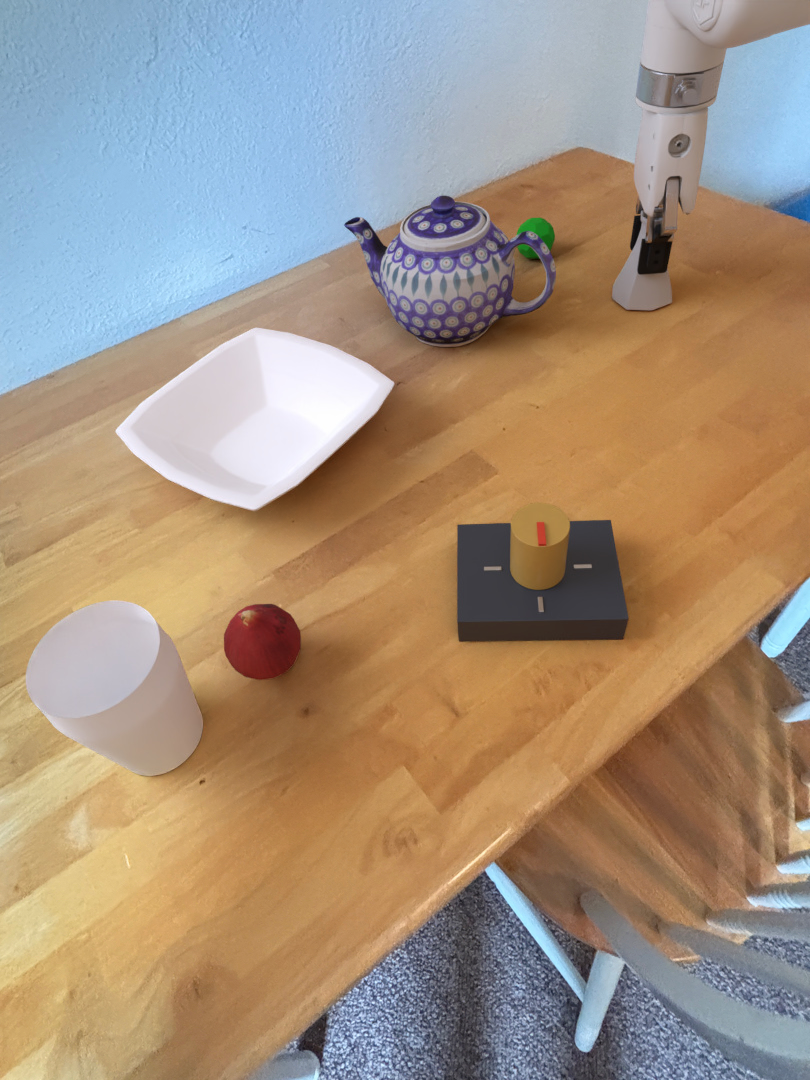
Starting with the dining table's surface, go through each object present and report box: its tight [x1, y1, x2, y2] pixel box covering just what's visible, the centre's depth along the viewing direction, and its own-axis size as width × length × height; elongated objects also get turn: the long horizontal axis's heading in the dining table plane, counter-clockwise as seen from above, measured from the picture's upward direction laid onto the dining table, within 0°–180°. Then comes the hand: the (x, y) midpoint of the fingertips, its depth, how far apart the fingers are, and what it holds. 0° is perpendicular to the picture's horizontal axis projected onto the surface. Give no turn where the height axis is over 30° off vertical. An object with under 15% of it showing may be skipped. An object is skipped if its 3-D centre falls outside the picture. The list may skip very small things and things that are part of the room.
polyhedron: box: [515, 217, 556, 260], centre depth 92 cm, size 5×5×5 cm
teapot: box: [343, 195, 557, 348], centre depth 80 cm, size 25×15×15 cm, turn 63°
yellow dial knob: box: [510, 502, 571, 590], centre depth 55 cm, size 4×4×6 cm
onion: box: [223, 603, 302, 681], centre depth 55 cm, size 6×6×8 cm
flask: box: [611, 208, 673, 311], centre depth 81 cm, size 7×7×10 cm
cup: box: [25, 599, 204, 777], centre depth 50 cm, size 9×9×12 cm
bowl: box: [115, 327, 395, 512], centre depth 73 cm, size 22×23×6 cm
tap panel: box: [456, 519, 630, 643], centre depth 59 cm, size 13×10×3 cm
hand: (647, 258), depth 82 cm, fingers open, 4 cm apart
